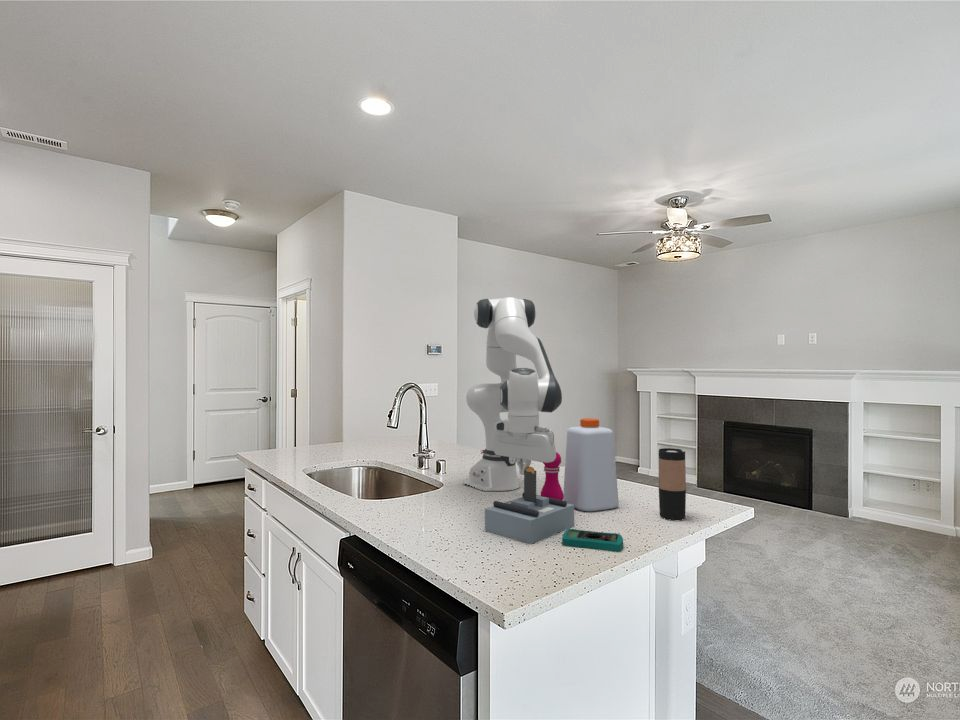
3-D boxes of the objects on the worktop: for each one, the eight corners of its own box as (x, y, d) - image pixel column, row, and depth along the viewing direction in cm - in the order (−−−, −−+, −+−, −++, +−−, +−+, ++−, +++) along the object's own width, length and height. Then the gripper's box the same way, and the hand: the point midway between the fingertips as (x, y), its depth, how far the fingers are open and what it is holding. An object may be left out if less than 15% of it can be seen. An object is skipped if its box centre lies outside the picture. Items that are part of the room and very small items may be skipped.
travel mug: (654, 517, 150) (653, 450, 150) (665, 511, 155) (665, 447, 156) (679, 522, 144) (678, 453, 145) (690, 516, 150) (689, 450, 150)
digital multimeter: (622, 554, 122) (622, 542, 122) (561, 547, 126) (561, 535, 126) (623, 544, 129) (623, 532, 129) (565, 538, 133) (565, 527, 133)
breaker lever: (523, 506, 140) (523, 466, 140) (529, 503, 142) (530, 465, 142) (530, 507, 138) (530, 468, 138) (536, 505, 141) (536, 466, 141)
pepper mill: (563, 513, 154) (562, 448, 154) (539, 512, 155) (539, 447, 156) (564, 507, 161) (563, 444, 161) (541, 506, 162) (541, 444, 163)
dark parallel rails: (491, 506, 140) (491, 501, 140) (524, 496, 151) (524, 491, 151) (536, 518, 130) (536, 511, 130) (568, 506, 140) (568, 500, 140)
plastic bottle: (624, 508, 159) (623, 420, 160) (583, 513, 154) (582, 422, 154) (596, 497, 173) (595, 416, 174) (558, 501, 168) (557, 418, 168)
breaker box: (484, 530, 139) (484, 501, 139) (529, 514, 153) (529, 488, 153) (530, 544, 127) (530, 512, 128) (574, 525, 142) (574, 497, 142)
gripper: (560, 427, 137) (560, 478, 136) (504, 422, 151) (504, 468, 150) (546, 429, 132) (546, 482, 132) (489, 423, 146) (490, 471, 146)
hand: (523, 474), depth 141 cm, fingers closed, pressing on breaker lever
